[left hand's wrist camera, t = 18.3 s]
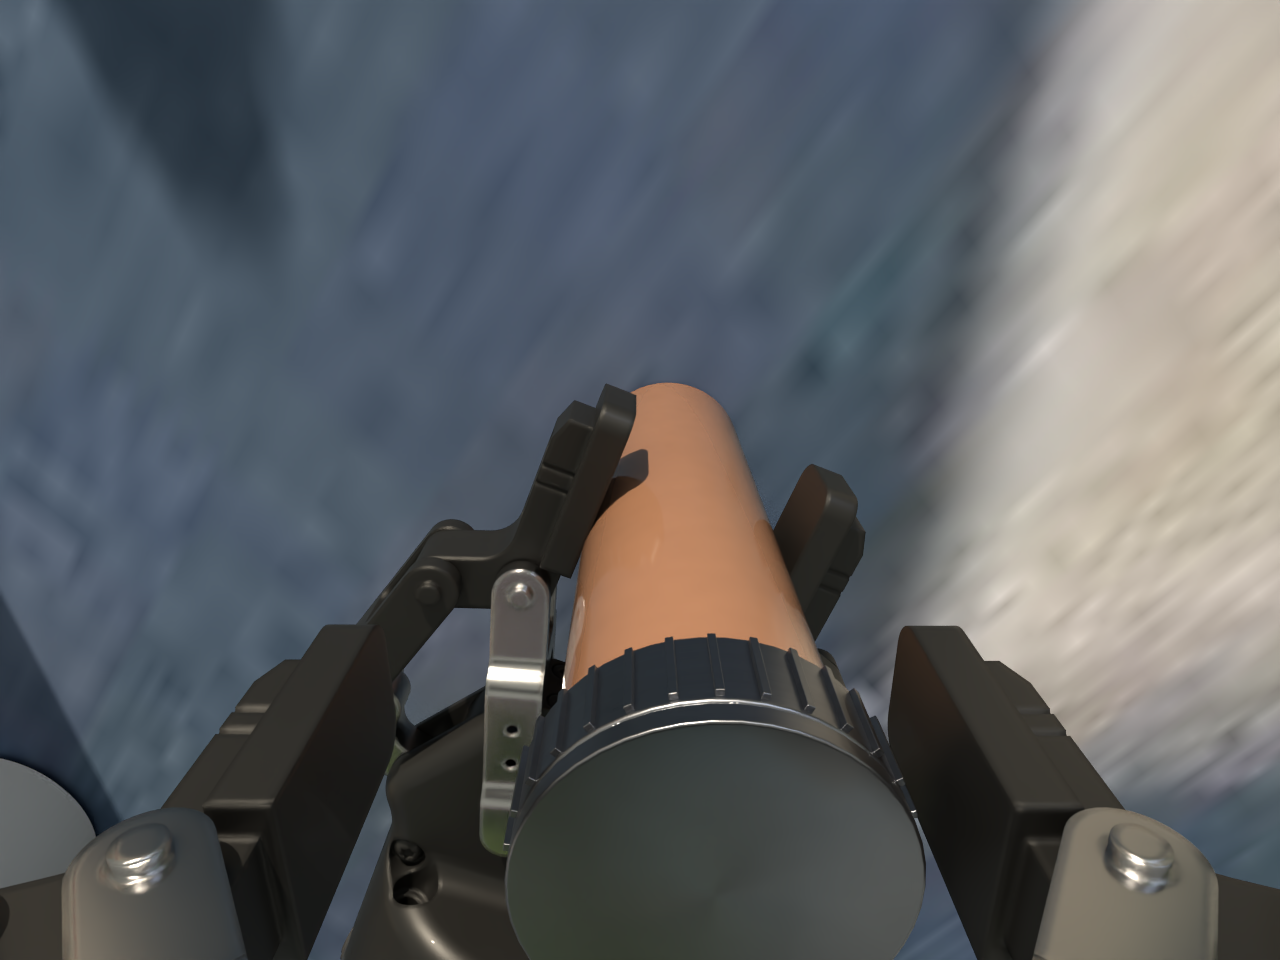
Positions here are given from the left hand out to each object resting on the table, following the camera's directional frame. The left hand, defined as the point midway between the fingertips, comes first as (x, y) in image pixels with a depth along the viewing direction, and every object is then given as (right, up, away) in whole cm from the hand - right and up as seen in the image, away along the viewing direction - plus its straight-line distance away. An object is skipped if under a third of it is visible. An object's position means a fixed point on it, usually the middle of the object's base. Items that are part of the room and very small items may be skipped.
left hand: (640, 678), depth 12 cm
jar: (+1, +4, +12) cm, 13 cm away
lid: (+1, -2, -2) cm, 3 cm away
